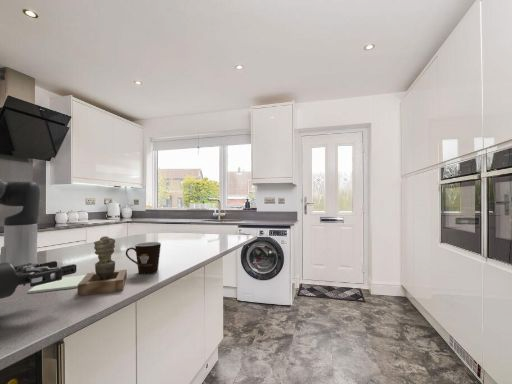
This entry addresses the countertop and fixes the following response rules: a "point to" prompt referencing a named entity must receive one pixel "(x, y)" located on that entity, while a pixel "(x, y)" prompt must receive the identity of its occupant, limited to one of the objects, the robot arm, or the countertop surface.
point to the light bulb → (104, 257)
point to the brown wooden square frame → (102, 283)
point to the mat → (58, 284)
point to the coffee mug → (146, 257)
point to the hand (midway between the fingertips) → (65, 266)
